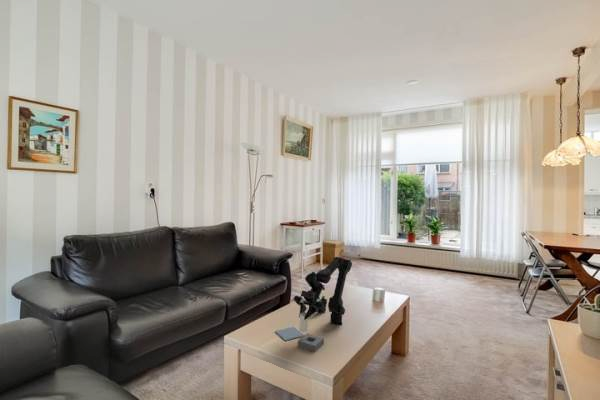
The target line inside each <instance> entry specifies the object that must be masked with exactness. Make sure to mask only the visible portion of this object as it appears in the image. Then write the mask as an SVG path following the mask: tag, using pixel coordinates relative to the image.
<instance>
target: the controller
mask: <svg viewBox="0 0 600 400" xmlns="http://www.w3.org/2000/svg"><path fill="white" fill-rule="evenodd" d="M317 302H320V303H323V305H324V306H325V307H326V308H327V305H328V299H326V296H325V295H322V296H321V298H320V299H318V300H317ZM317 311H318V312H317V313H319V314H322V312H320V310H319V309H318V310H317Z"/></svg>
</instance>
